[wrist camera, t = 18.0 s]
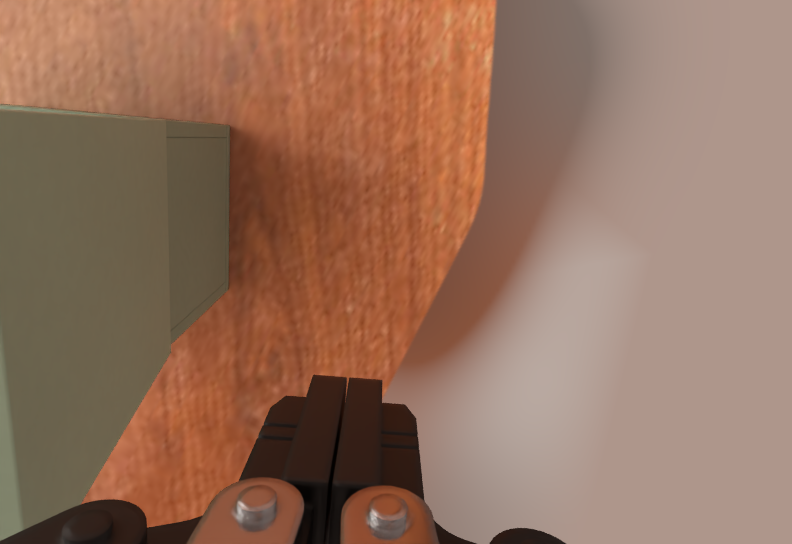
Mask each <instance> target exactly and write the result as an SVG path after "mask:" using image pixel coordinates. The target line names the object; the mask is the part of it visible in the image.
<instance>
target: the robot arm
mask: <svg viewBox="0 0 792 544" xmlns="http://www.w3.org/2000/svg"><path fill="white" fill-rule="evenodd" d="M346 385H347V377H335V376H322V375H313V377H312V380H311V383H310V387H309V390H308V393H307V396H306V397H296V396H285V397H284V398H282V399H281V400H280V401H279V402H277V403H276V404H275V405H273V406H272V407H271V408H270V410H269V412H268V415H267V417H266V419H265V422H264V426H262V429H261V431H260V433H259V436H258V438H257V440H256V442H255V445H254V447H253V449H252V452H251V454H250V456H249V458H248V461H247V463H246V465H245V468H244V470H243V472H242V475H241V477H240V479H239V482H236V483H234V484H231V485H230V486H228V487H226V488H225V489H223V490H222V491H220V492H219V493H218V494H217V495H216V496H215V497H214V499H213V500H212V501H211V503H210V504H209V506H208V508H207V509H206V511H205V513H204V515H203V516H200V517H197V518H194V519H191V520H187V521H183V522H178V523H172V524H166V525H160V526H155V527H149V528H147V521H146V516H145V514H144V512H143V511H142V510H141V509H140V508H139V507H138V506H136V505H134V504H132V503H130V502H126V501H123V500H98V501H93V502H88V503H84V504H81V505H78V506H75V507H73V508H70V509H68V510H65V511H63V512H61V513H59V514H57V515H55V516H53V517H50V518H48V519H46V520H44V521H42V522H40V523H38V524H35V525H33V526H31V527H29V528H27V529H25V530H22V531H20V532H18V533H16V534H14V535H12V536H10V537H7V538H5V539H3V540H1V541H0V544H476V543H473V542H470V541H467V540H464V539H461V538H459V537H457V536H455V535H453V534H451V533H449V532H448V531H446V530H445V529H443V528H442V527H441V526H440V525H438V524H437V523H436V522H435V521H434V519H433V515H432V512H431V510H430V508H429V507H428V505H427V504H426V503H425V501H424V493H423V483H422V473H421V463H420V454H419V444H418V437H417V434H418V433H417V423H416V418H415V416H414V415H413V414H412V413H411V411H410V410H409V409H408V408H407V406H406V405H404V404H390V403H382V380H376V379H363V378H349V383H348V389H347V396H346ZM345 400H346V402H345ZM490 544H566V543H564V542H562V541H561V540H559V539H558V538H556V537H554V536H552V535H550V534H547V533H545V532H542V531H537V530H534V529H528V528H515V529H509V530H506V531H503V532H501V533H499V534H498V535H496V536H495V537H494V538H493V540H492V541H491V542H490Z"/></svg>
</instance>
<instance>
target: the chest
mask: <svg viewBox="0 0 792 544" xmlns="http://www.w3.org/2000/svg"><path fill="white" fill-rule="evenodd" d="M0 109H9V110H24V111H38V112H53V113H68V114H83V115H98V116H112V117H127V118H142V119H155V120H164V121H166V143H167V190H168V236H169V283H170V329H171V344H172V343H173V342H174V341H175V340H176V339H177V338H178V337H179V336H180V335H181V334H183V333H184V332H185V331H186V330H187V329H188V328H189V327H190V326H191V325H192V324H193V323H194V322H195V321H196V320H197V319H198V318H199V317H200V316H201V315H202V314H203V313H205V312H206V311H207V310H208V309H209V308H210V307H211V306H212V305H213V304H214V303H215V302H216V301H217V300H218V299H219V298H220V297H221V296H222V295H223V294H224V293H225V292H226V291H228V289H229V179H230V125H221V124H211V123H200V122H190V121H179V120H169V119H158V118H148V117H137V116H127V115H116V114H105V113H95V112H84V111H74V110H63V109H53V108H42V107H32V106H21V105H10V104H0Z"/></svg>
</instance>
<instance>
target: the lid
mask: <svg viewBox="0 0 792 544" xmlns="http://www.w3.org/2000/svg"><path fill="white" fill-rule="evenodd" d="M170 353H171V329H170V283H169V236H168V190H167V143H166V121H164V120H155V119H142V118H127V117H112V116H98V115H83V114H68V113H53V112H38V111H24V110H9V109H0V541H1V540H3V539H5V538H7V537H10V536H12V535H14V534H16V533H18V532H20V531H22V530H25V529H27V528H29V527H31V526H33V525H35V524H38V523H40V522H42V521H44V520H46V519H48V518H50V517H53V516H55V515H57V514H59V513H61V512H63V511H65V510H68V509H70V508H73V507H75V506H78V505H80V504H81V503H82V501H83V499H84V498H85V496H86V494H87V493H88V491H89V489H90V488H91V486H92V484H93V483H94V481H95V479H96V478H97V476H98V474H99V472H100V471H101V469H102V467H103V466H104V464H105V462H106V461H107V459H108V457H109V456H110V454H111V452H112V451H113V449H114V447H115V446H116V444H117V442H118V441H119V439H120V437H121V435H122V434H123V432H124V430H125V429H126V427H127V425H128V424H129V422H130V420H131V419H132V417H133V415H134V414H135V412H136V410H137V409H138V407H139V405H140V404H141V402H142V400H143V399H144V397H145V395H146V393H147V392H148V390H149V388H150V387H151V385H152V383H153V382H154V380H155V378H156V377H157V375H158V373H159V372H160V370H161V368H162V367H163V365H164V363H165V362H166V360H167V358H168V356H169V355H170Z"/></svg>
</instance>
